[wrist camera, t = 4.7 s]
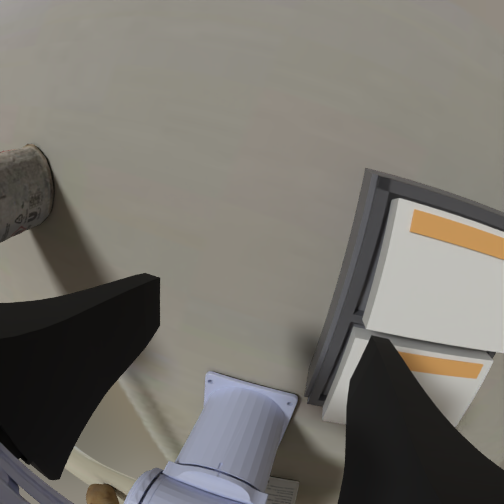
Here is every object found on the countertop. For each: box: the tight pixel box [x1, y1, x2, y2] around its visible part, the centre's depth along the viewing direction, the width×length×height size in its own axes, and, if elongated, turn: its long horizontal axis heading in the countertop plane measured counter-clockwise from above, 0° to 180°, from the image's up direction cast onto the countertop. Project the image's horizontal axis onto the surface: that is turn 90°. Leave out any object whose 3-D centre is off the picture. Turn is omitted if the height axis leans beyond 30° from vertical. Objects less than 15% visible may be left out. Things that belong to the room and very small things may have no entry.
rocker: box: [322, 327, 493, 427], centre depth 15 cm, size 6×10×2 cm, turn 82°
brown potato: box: [86, 484, 119, 504], centre depth 49 cm, size 9×9×10 cm
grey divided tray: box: [304, 168, 504, 407], centre depth 16 cm, size 15×12×4 cm
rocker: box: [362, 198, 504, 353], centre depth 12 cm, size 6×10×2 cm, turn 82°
